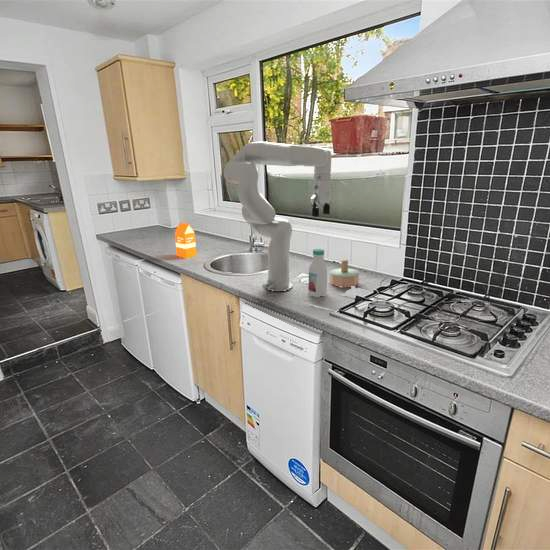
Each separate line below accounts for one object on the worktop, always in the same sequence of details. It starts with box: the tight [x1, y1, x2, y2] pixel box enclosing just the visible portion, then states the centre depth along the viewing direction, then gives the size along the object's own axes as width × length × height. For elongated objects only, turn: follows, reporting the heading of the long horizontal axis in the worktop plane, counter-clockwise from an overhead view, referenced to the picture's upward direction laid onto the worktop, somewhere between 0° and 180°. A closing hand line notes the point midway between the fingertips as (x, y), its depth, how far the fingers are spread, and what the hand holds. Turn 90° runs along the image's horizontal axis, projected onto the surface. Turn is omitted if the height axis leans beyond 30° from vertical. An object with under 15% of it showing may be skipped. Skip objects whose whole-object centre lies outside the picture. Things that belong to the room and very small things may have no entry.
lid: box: [329, 259, 360, 278], centre depth 164 cm, size 13×13×6 cm
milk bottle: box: [307, 248, 328, 298], centre depth 151 cm, size 8×8×20 cm
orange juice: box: [174, 222, 197, 259], centre depth 213 cm, size 8×9×20 cm
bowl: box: [329, 273, 360, 287], centre depth 166 cm, size 12×12×5 cm
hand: (320, 215), depth 169 cm, fingers open, 9 cm apart
